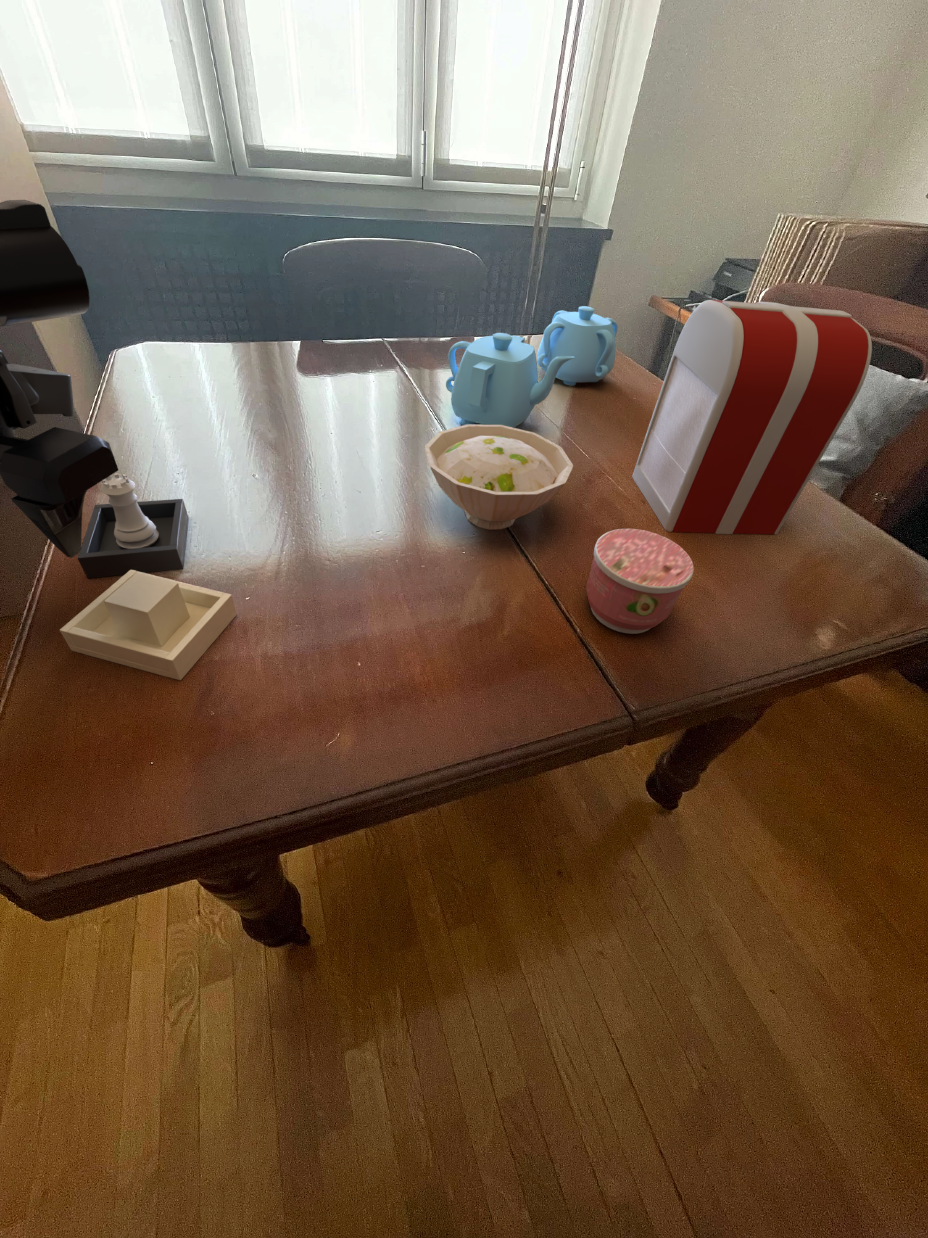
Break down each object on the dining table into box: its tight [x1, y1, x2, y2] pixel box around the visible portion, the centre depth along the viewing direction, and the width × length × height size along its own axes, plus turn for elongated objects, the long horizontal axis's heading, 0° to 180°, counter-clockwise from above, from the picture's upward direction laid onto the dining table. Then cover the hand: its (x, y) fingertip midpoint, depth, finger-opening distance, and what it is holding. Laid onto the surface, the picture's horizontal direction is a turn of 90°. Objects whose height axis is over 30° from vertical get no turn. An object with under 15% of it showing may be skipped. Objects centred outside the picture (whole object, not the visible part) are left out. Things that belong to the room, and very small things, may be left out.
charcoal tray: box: [77, 498, 190, 579], centre depth 63 cm, size 11×10×3 cm
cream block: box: [104, 573, 190, 647], centre depth 53 cm, size 4×4×4 cm
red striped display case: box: [631, 299, 873, 535], centre depth 75 cm, size 16×18×27 cm
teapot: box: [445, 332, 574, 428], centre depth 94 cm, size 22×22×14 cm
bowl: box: [424, 424, 574, 531], centre depth 73 cm, size 19×19×10 cm
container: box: [585, 528, 695, 635], centre depth 61 cm, size 10×10×8 cm
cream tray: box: [59, 570, 238, 681], centre depth 54 cm, size 12×10×3 cm
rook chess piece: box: [100, 472, 159, 549], centre depth 61 cm, size 4×4×8 cm
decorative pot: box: [536, 305, 619, 386], centre depth 115 cm, size 16×16×14 cm
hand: (24, 542), depth 45 cm, fingers open, 9 cm apart
